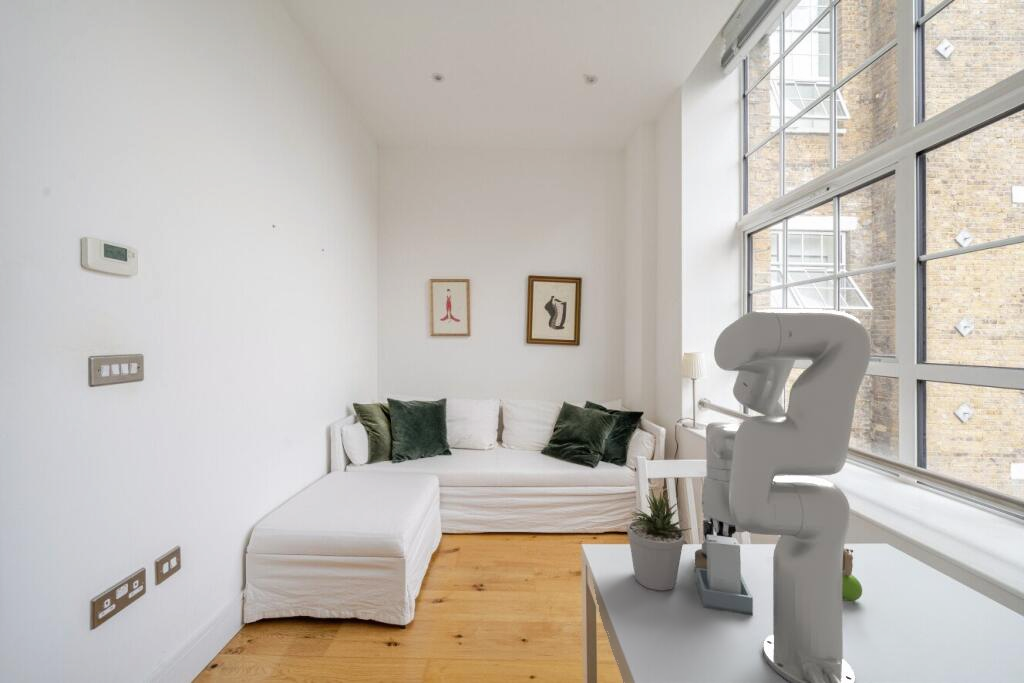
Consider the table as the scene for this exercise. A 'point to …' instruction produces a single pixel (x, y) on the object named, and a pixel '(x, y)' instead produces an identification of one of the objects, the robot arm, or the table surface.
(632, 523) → the potted plant
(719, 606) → the tray
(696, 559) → the crank pedestal
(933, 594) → the table surface
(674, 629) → the table surface
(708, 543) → the skincare box
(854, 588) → the snail figurine
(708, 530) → the crank
